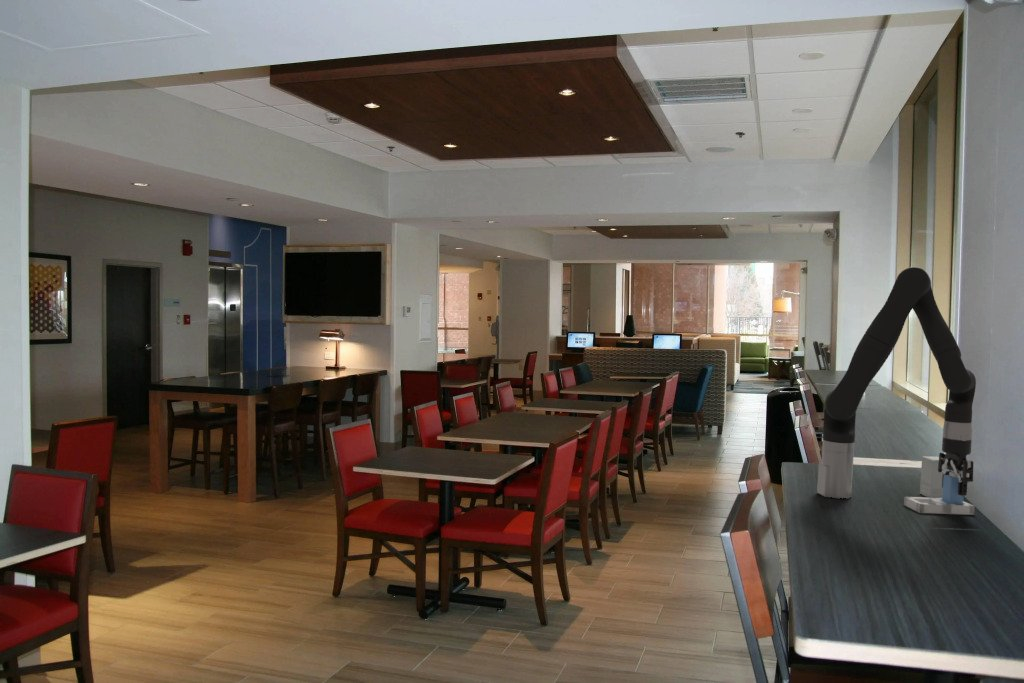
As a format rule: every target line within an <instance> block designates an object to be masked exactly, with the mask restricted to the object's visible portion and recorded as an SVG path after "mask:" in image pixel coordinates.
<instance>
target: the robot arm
mask: <svg viewBox="0 0 1024 683" xmlns="http://www.w3.org/2000/svg"><path fill="white" fill-rule="evenodd" d="M912 310H913V311H914V314H915V315H916V317H917V319H918V321H919V323H920V327H921V329H922V332H923V335H924V337H925V340H926V342H927V345H928V347H929V348H930V351H931V353H932V355H933V356H934V357H933V358H934V359H935V361H936V362H937V365H938V366H937V367H938V370H939V373H940V376H941V378H942V379H941V380H942V381H943V384H944V385H945V387H946V388H947V390H949V392H948V400H947V403H946V404H945V409H944V423H943V428H942V440H941V441H942V442H941V451H942V452H939V454H938V457H939V463H938V472H941V475H942V488H943V478H944V475H949V472H954V473H955V475H956V476H957V477H958V480H959V482H958V495H963V497H964V496H967V494H968V483H972V482H973V481H974V461H973V460H967V456H968V455H971V453H972V441H973V440H972V439H973V426H972V424H973V423H972V422H973V403H974V398H975V393H976V387H977V386H976V385H977V383H976V382H977V379H976V376H975V374H974V373H973V372H972V371H971V370H969V369H968V368H966V367H965V364H964V362H963V360H962V352H961V349H960V347H959V344H958V343H957V340H956V338H955V337H954V335H953V333H952V331H951V329H950V327H949V325H948V324H947V322H946V320H945V318H944V317H943V314H942V313H941V311H940V309H939V306H938V305H937V302H936V299H935V295H934V292H933V288H932V280H931V278H930V275H929V274H928V272H926V270H925V269H923V268H922V267H919V266H910V267H907V268H905V269H903V270H901V272H899V274H898V275H897V277H896V280H895V281H894V284H893V286H892V289H891V291H890V293H889V295H888V297H887V299H886V301H885V302H884V304H883V307H881V309H880V310H879V312H878V313H876V314H877V315H876V316H875V317H874V319H872V321H871V323H870V325H869V326H868V327H867V329H866V331H865V333H864V334H863V336H862V337H861V339H860V340H859V343H858V344H857V346H856V347H855V350H854V352H853V354H852V357H851V360H850V362H849V365H848V368H847V370H846V372H845V373H844V375H843V376H842V378H841V380H840V381H839V383H838V384H837V386H836V387H835V388H834V389H833V390H831V391H830V392H828V394H827V395H826V397H825V400H824V410H823V424H822V425H823V427H822V446H821V462H818V468H817V469H818V473H817V486H816V489H817V490H816V493H817V494H819V495H821V496H822V497H824V498H831V497H832V499H833V498H834V499H840V498H842V499H843V498H846V499H850V497H851V498H852V490H853V471H854V454H855V438H856V420H857V418H856V417H857V409H858V408H859V405H860V402H861V401H862V398H863V397H864V394H865V392H866V391H867V388H868V387H869V385H870V383H871V382H872V380H873V379H874V378H875V377H876V375H877V374H878V372H880V370H881V368H883V366H884V364H885V362H886V361H887V360H888V358H889V357H890V354H891V353H892V351H893V350H894V348H895V346H896V345H897V343H898V340H899V338H900V336H901V334H902V331H903V328H904V326H905V324H906V322H907V321H906V320H907V318H908V317H909V314H910V313H911V311H912ZM943 464H944V465H943ZM942 465H943V467H942ZM842 499H841V500H842Z"/></svg>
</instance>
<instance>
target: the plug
mask: <svg viewBox="0 0 1024 683" xmlns="http://www.w3.org/2000/svg"><path fill="white" fill-rule="evenodd" d="M958 482H959V480H958V477H957V476H956V475H955V473H954V472H949V475H944V478H943V493H942V501H943V502H946V503H948V504H963V501H964V496H963V495H958Z"/></svg>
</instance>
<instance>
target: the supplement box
mask: <svg viewBox="0 0 1024 683" xmlns="http://www.w3.org/2000/svg"><path fill="white" fill-rule="evenodd" d="M938 463H939V456H925V455H923V456H922V457H921V466H920V467H921V472H920V484H919V485H920V487H919V495H920V494H922V495H921V496H924V497H927V498H942V493H943V488H942V475H941V472H938ZM943 465H944V464H943ZM943 465H942V467H943Z"/></svg>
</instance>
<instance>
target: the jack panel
mask: <svg viewBox="0 0 1024 683" xmlns="http://www.w3.org/2000/svg"><path fill="white" fill-rule="evenodd" d="M903 500H904V501H903V505H904V506H905V507H906V508H909V509H911V510H913V511H915V512H917V513H919V514H941V515H943V514H945V515H967V516H968V515H971V516H974V515H975V505H973V504H971V503H969V502H966V501H964V500H963V504H948V503H946V502H943V501H942V498H928V497H926V496H924V497H923V496H904V498H903Z"/></svg>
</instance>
